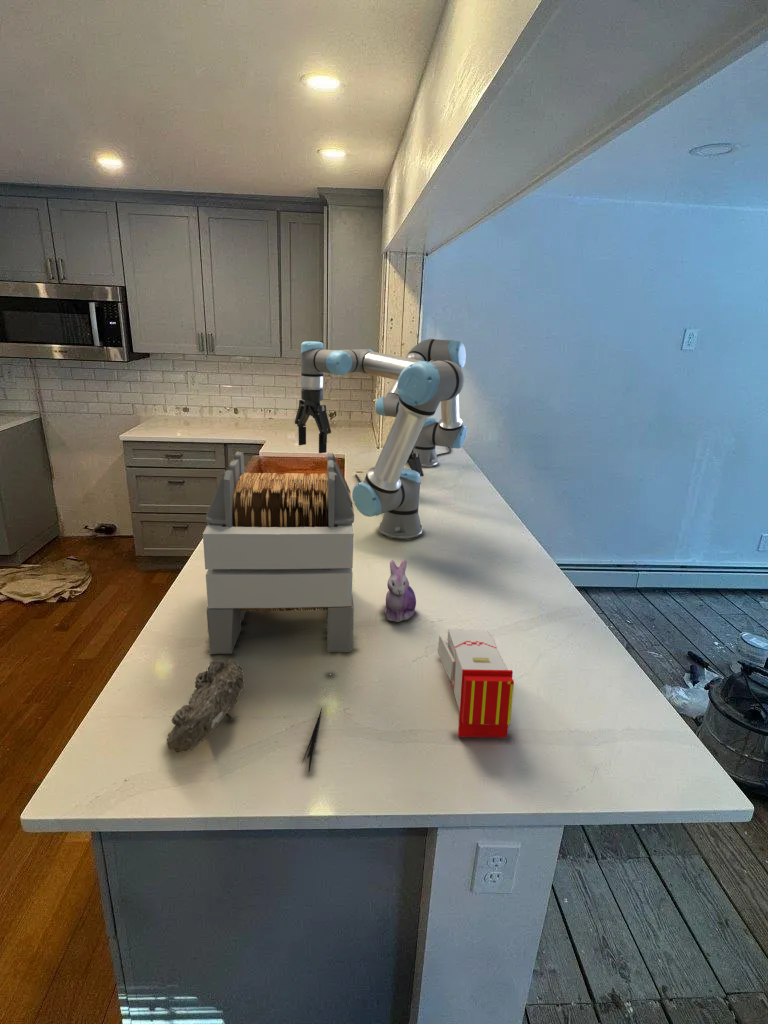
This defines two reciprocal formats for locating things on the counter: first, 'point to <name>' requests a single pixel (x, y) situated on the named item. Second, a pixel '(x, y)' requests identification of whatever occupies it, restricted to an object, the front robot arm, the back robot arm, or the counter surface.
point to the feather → (313, 740)
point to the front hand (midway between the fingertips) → (312, 448)
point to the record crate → (279, 550)
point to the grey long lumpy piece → (206, 705)
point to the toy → (478, 682)
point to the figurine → (399, 594)
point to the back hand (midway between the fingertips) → (403, 488)
